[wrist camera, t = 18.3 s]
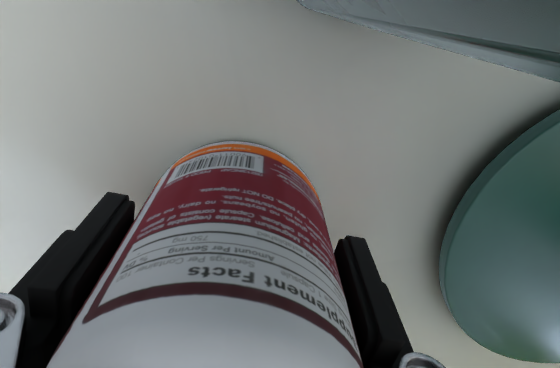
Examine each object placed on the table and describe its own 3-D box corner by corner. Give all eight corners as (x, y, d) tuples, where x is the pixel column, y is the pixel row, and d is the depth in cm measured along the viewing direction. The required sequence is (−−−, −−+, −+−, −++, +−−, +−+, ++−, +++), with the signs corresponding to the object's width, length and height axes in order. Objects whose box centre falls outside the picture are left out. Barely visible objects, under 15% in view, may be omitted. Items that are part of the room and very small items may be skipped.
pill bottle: (247, 299, 16) (206, 807, 6) (122, 217, 14) (-264, 784, 4) (355, 208, 14) (573, 747, 4) (228, 96, 12) (-5, 625, 2)
